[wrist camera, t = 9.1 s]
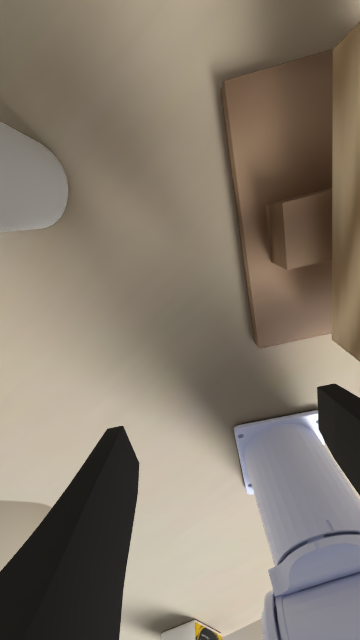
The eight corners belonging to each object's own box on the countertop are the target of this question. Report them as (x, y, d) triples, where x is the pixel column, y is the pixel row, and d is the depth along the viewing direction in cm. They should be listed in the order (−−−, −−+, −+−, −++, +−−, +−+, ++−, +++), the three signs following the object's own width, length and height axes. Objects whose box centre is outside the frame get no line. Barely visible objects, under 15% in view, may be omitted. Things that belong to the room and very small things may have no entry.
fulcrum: (412, 308, 19) (461, 327, 16) (254, 342, 20) (270, 367, 16) (451, 23, 13) (545, -42, 10) (220, 89, 14) (235, 50, 10)
